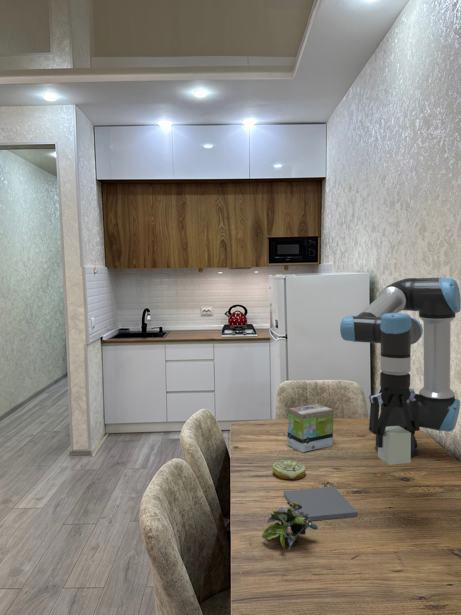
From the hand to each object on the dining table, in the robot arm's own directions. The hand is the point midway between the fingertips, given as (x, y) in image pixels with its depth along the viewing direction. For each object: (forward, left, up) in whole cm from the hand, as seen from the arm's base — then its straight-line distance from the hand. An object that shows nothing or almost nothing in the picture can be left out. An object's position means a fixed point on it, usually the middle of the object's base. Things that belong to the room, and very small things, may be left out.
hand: (393, 457), depth 125 cm
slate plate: (+17, -11, -17) cm, 26 cm away
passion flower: (+31, +6, -17) cm, 36 cm away
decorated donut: (+19, -33, -17) cm, 42 cm away
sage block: (0, 0, 0) cm, 0 cm away
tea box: (+3, -57, -17) cm, 60 cm away
